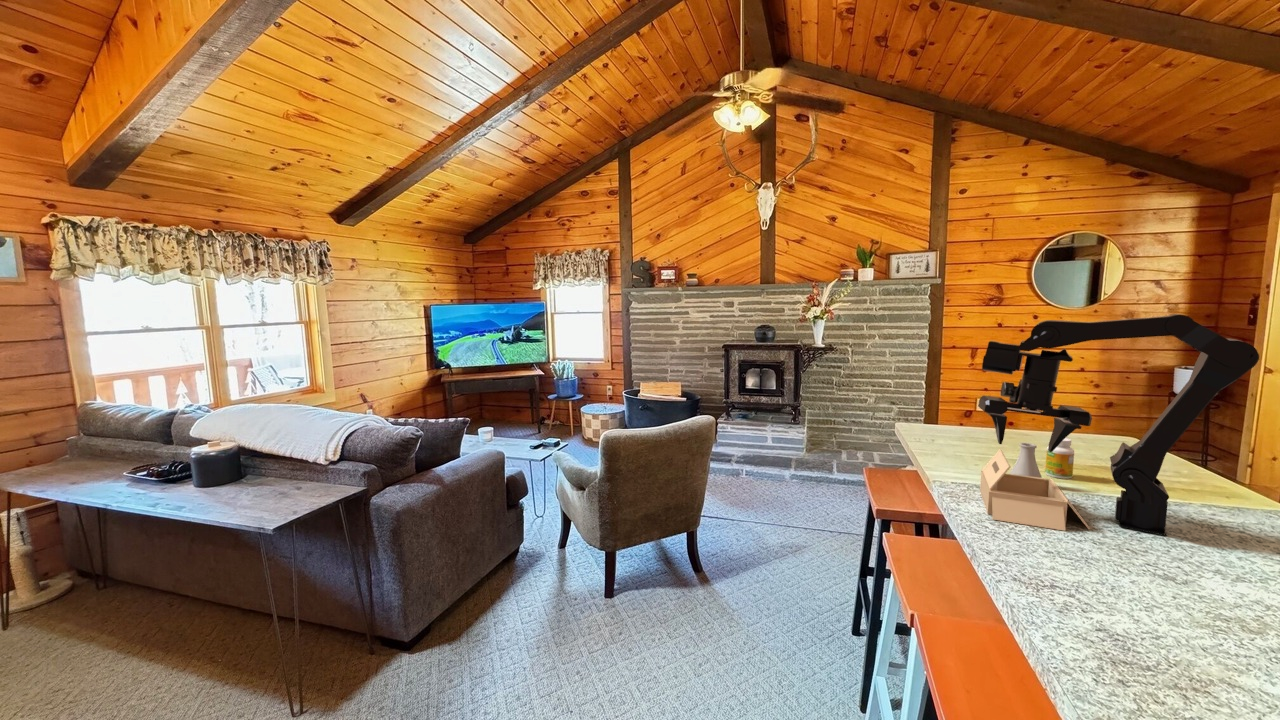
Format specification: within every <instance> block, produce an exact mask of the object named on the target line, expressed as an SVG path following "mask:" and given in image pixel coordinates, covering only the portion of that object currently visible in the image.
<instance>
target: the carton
mask: <svg viewBox="0 0 1280 720" xmlns="http://www.w3.org/2000/svg"><path fill="white" fill-rule="evenodd" d="M979 485H980V486H979V487H980V488H979V492H980V495H981V498H982V501H983V505H984V506H985V510H986V513H987V515H988V516H989V515H991V516H992V520H993V521H1000V522H1006V523H1013V524H1018V525H1023V526H1025V525H1026V526H1032V527H1038V528H1042V529H1043V528H1045V529H1051V530H1057V531H1063V532H1064V531H1066V525H1067V515H1068V514H1067V513H1068V512H1067V511H1068V505H1069V507H1070V508H1071V509H1072V511H1073V512H1074V513H1075V514H1076V515H1077V517H1078V519H1080V520H1081V522H1082V523H1083V524H1084V525H1085V527H1086V528H1087V529H1088V530H1091V528H1090V526H1089V524H1088V523H1086V521H1085V520H1084V518H1083V517H1082V516H1081V514H1080V513H1079V512H1078V510H1077V509H1076V508H1075V506H1074V505H1073V504H1072V502H1071V501H1070V500H1069V499H1068V498H1067V496H1066V495H1065V493H1064V492H1063V491H1062V490H1061V489H1060V488H1059V486H1058V485H1057V483H1056V482H1055V480H1053V479H1052V478H1047V477H1046V478H1045V477H1042V478H1039V477H1031V476H1023V475H1014V474H1009V473H1007V472H1006V473H1005V474H1004V475H1003V477H1002V478H1001V479H1000V480H999V481H998V482H997V490H992V491H991V490H990V488H989V486H988V483H987V480H986V478H985V475H984V473H983V470H981V471H980V484H979Z"/></svg>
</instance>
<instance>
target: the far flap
mask: <svg viewBox="0 0 1280 720" xmlns="http://www.w3.org/2000/svg"><path fill="white" fill-rule="evenodd" d="M1010 468H1011V465H1010V463H1009V461H1008V460H1007V458H1006V456H1005V454H1004V452H1003V451H1002V449H1000V448H999V449H998V450H997V452H996V453H995V454H994V455H993V456H992V457H991V458H990V460H989V461H988V462H987V464H986V465H985V466H984V467H983V468H982V470H981V471H983V473H984V475H985V478H986V480H987V483H988V486H989V488H990V489H992V488H993V487H994V486H995V485H996V483H997V482H998V481H999V480H1000V479H1001V478H1002V477H1003V475H1004V474H1005V473H1006V474H1007V472H1008V471H1009V470H1010Z"/></svg>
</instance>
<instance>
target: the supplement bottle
mask: <svg viewBox="0 0 1280 720" xmlns="http://www.w3.org/2000/svg"><path fill="white" fill-rule="evenodd" d="M1071 446H1072V439H1070V438H1069V437H1068V438H1067V437H1066V438H1065V439H1064V440H1063V441H1062V442H1061V443H1060V444H1059V445H1058V446H1057V447H1056V448H1055V449H1054V450H1053V452H1049V451H1048V446H1047V447H1046V453H1045V454H1046V455H1045V466H1044V467H1045V468H1044V473H1045V475H1047V476H1048V477H1051V478H1056V479H1062V480H1068V479H1072V478H1073V473H1074V461H1075V450H1074V448H1072V447H1071Z"/></svg>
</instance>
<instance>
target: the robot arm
mask: <svg viewBox="0 0 1280 720" xmlns="http://www.w3.org/2000/svg"><path fill="white" fill-rule="evenodd" d="M1170 336H1171V337H1175V338H1176V339H1178V340H1180V342H1183V343H1184V344H1186V345H1187V346H1189V347H1191V348H1193V349H1194V350H1196V351H1197V352H1199V353H1200V354H1199V356H1198V357H1197V360H1196V361H1195V363H1194V366H1193V369H1192V372H1191V375H1190V377H1189V380H1188V381H1187V382H1186V383H1185V385H1184V386H1183V387H1182V388H1181V390H1180V391H1179V392H1178V393H1177V394H1176V396H1175V397H1174V398H1173V399H1172V401H1171V402H1170V403H1169V404H1168V406H1166V408H1165V409H1164V410H1163V412H1162V413H1161V414H1160V415H1159V416H1158V417H1157V419H1156V420H1155V421H1154V423H1153V424H1152V425H1151V427H1149V429H1148V430H1147V431H1146V433H1145V434H1144V435H1143V437H1142V438H1141V439H1139V440H1138V441H1137V442H1135V443H1134V444H1132V445H1128V444H1126V443H1125V442H1122V443H1121V444H1120V446H1119V448H1118V450H1117V452H1116V453H1114V454H1113V455H1111V456H1110V457H1109V459H1110V471H1111V475H1112V479H1113V481H1114V482H1115V483H1116V485H1117V486H1118V487H1119V488H1122V490H1121V491H1120V497H1119V496H1118V497H1116V498H1115V509H1114V518H1115V521H1116V522H1118V526H1119V527H1121V528H1124V529H1129V530H1135V531H1139V532H1144V533H1150V534H1154V535H1160V536H1164V537H1166V536H1168V532H1167V530H1166V526H1167V523H1166V522H1167V515H1168V503H1169V502H1168V500H1169V499H1170V496H1169V493H1168V491H1167V490H1166V488H1165V485H1164V483H1163V482H1162V481H1160V479H1158V478H1157V477H1158V475H1159V473H1160V471H1161V468H1162V466H1163V463H1164V460H1165V457H1166V456H1167V453H1168V452H1169V451H1170V450H1171V449H1172V448H1173V446H1175V444H1176V443H1177V441H1178V440H1179V439H1180V438H1182V436H1183V434H1184V433H1185V432H1186V431H1187V430H1188V428H1190V427H1191V425H1192V424H1193V423H1194V422H1195V420H1196V419H1197V418H1198V417H1199V416H1200V414H1201V413H1202V412H1203V411H1204V410H1205V408H1206V407H1207V406H1208V405H1209V404H1210V403H1211V402H1212V400H1213V399H1214V398H1215V397H1216V396H1217V394H1218V393H1219V392H1220V391H1222V390H1224V389H1225V388H1227V387H1228V386H1230V385H1231V384H1233V383H1235V382H1236V381H1237V380H1239V379H1241V378H1242V377H1243V376H1244V375H1245V374H1247V373H1248V372H1249V371H1251V369H1252V368H1254V367H1255V366H1257V364H1258V361H1259V360H1260V353H1259V352H1258V350H1257V349H1256V347H1254V346H1253V345H1252V344H1250V343H1248V342H1245V341H1242V340H1239V339H1235V338H1229V337H1228V338H1227V337H1224V336H1222V335H1220V334H1219V333H1217V332H1215V331H1214V330H1211V329H1209V328H1208V327H1205V326H1204V325H1202V324H1200V323H1198V322H1197V321H1195V320H1194V318H1192V317H1190V316H1188V315H1185V314H1178V313H1177V314H1176V313H1175V314H1170V315H1165V316H1152V317H1140V318H1126V319H1114V320H1112V319H1111V320H1103V321H1075V320H1074V321H1073V320H1060V319H1059V320H1056V319H1046V320H1042V321H1040V322H1039V323H1037V324H1035V326H1034V327H1033V328H1032V330H1031V331H1030V336H1029V337H1027V338H1026V339H1025V340H1021V341H1020V343H1019V344H1013V343H1004V342H999V341H995V340H990V341H988V343H987V347H986V351H985V354H984V355H983V359H982V366H981V370H982V371H985V372H993V373H999V374H1007V375H1014V372H1016V371H1018V372H1020V371H1021V367H1022V363H1023V358H1024V357H1026V358H1025V363H1024V367H1023V373H1022V377H1021V379H1019V382H1018V385H1017V386H1015V383H1014V382H1007V381H1003V382H1002V383H1001V386H1000V387H1001V388H1000V396H1001V397H999V396H991V395H982V396H981V397H980V398H979V399H978V405H977V407H978V408H979V409H981V410H982V411H983V412H984V413H986V414H987V415H989V417H991V419H992V421H993V424H994V429H995V434H996V440H997V443H998V444H999V445H1002V444H1003V441H1004V439H1005V432H1006V425H1007V420H1008V416H1007V415H1005V414H1006V413H1007V412H1014V413H1020V414H1029V415H1037V416H1043V417H1052V418H1053V425H1054V426H1053V429H1052V433H1051V436H1050V438H1049V443H1048V446H1047V447H1048V451H1049V452H1053V450H1054V449H1055V448H1056V447H1057V446H1058V445H1059V444H1060V443H1061V442H1062V441H1063V440H1064V439H1065V438H1067V437H1068V436H1069V435H1071V434H1072V433H1073V432H1074V431H1076V430H1082V428H1083V426H1085V427H1091V424H1092V421H1093V420H1092V419H1093V417H1092V414H1091V412H1089V411H1087V410H1085V409H1083V408H1082V407H1080V406H1079V407H1078V406H1073V405H1065V404H1064V405H1063V404H1060V405H1059V406H1058V407H1057V408H1054V405H1052V403H1053V398H1054V393H1057V391H1058V386H1056V383H1057V381H1058V375H1059V370H1060V367H1061V366H1060V365H1061V361H1062V362H1071V363H1072V362H1073V361H1074V358H1073V356H1071V355H1070V354H1069V353H1068V350H1067V348H1062V347H1066V346H1070V345H1071V346H1072V345H1075V344H1079V343H1083V342H1090V341H1103V340H1119V339H1120V340H1121V339H1136V338H1137V339H1138V338H1154V337H1170ZM1039 348H1041V352H1040V353H1032V352H1031V351H1034V350H1037V349H1039ZM1056 348H1062V349H1061V350H1059V351H1053V350H1050V349H1056ZM1045 349H1049V350H1045ZM1002 397H1003V398H1005V397H1006V398H1009V400H1008V401H1007V400H1005V399H1003V398H1002Z"/></svg>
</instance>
